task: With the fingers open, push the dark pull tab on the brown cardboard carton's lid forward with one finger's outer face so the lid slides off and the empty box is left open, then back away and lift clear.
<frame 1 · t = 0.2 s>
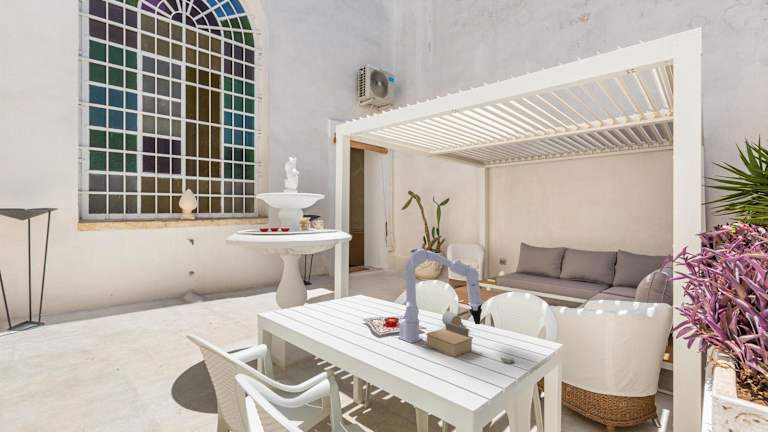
hand: (477, 321, 169), 10 cm above the table, tool pointing down, fingers open, 7 cm apart
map: (505, 355, 156), on the table
carton: (448, 348, 162), on the table
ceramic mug: (453, 326, 194), on the table
carton lid: (449, 332, 162), point 7 cm above the table, slide at 0.0 cm
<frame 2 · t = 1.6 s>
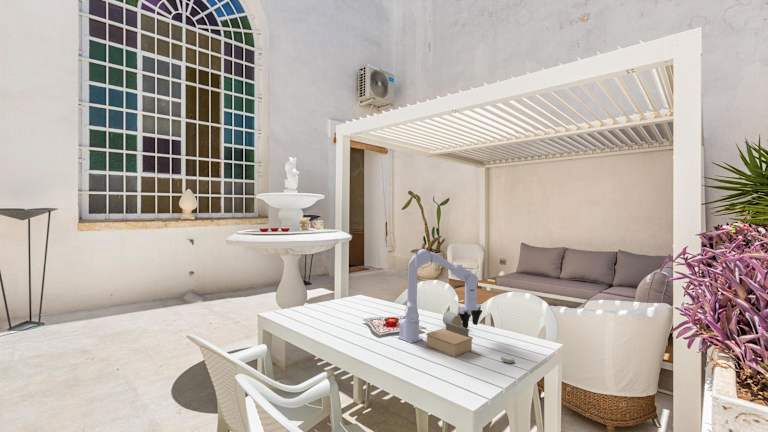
hand: (470, 326, 173), 7 cm above the table, tool pointing down, fingers open, 7 cm apart
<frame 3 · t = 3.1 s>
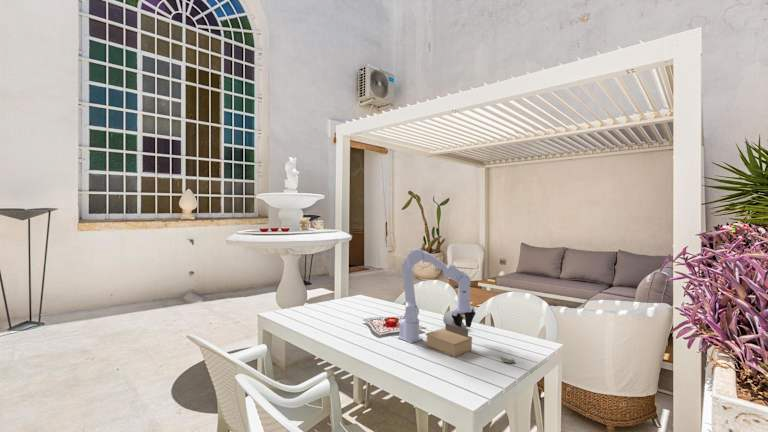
hand: (463, 328, 169), 7 cm above the table, tool pointing down, fingers open, 7 cm apart
carton lid: (448, 332, 162), point 7 cm above the table, slide at 0.3 cm, touching gripper
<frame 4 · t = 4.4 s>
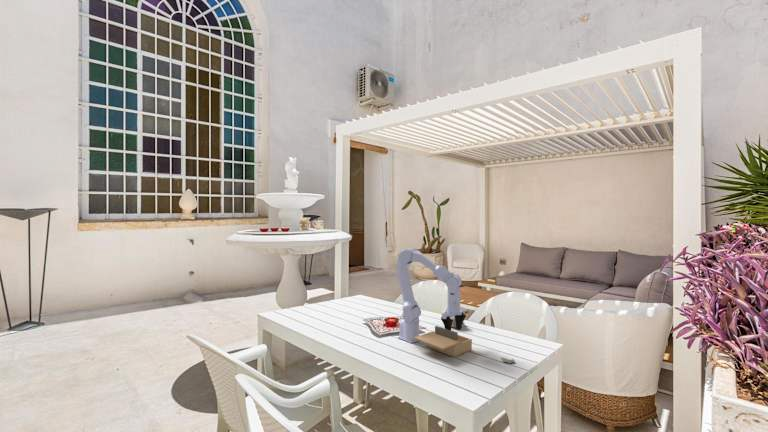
hand: (453, 331, 164), 7 cm above the table, tool pointing down, fingers open, 7 cm apart
carton lid: (437, 336, 157), point 7 cm above the table, slide at 7.8 cm, touching gripper
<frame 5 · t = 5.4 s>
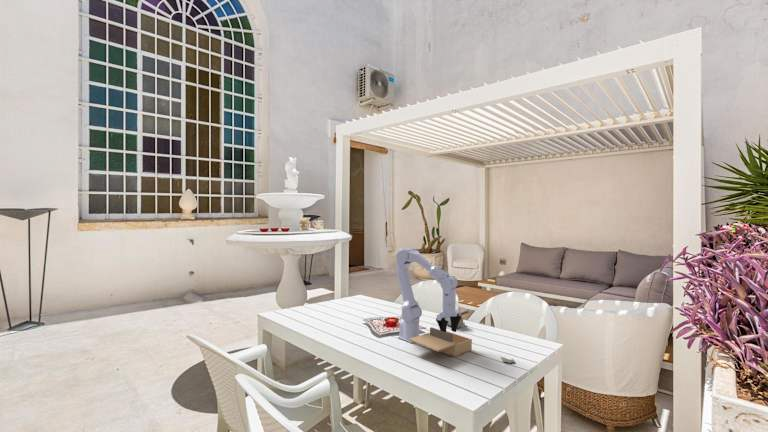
hand: (448, 333, 162), 7 cm above the table, tool pointing down, fingers open, 7 cm apart
carton lid: (432, 338, 155), point 7 cm above the table, slide at 11.3 cm, touching gripper
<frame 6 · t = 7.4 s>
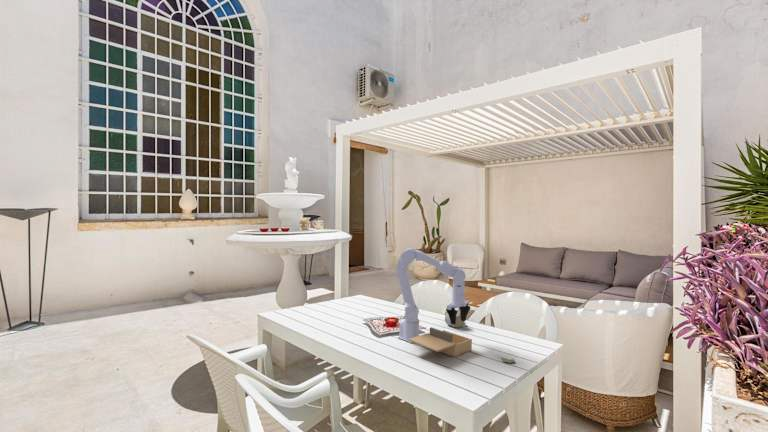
hand: (458, 322, 170), 9 cm above the table, tool pointing down, fingers open, 7 cm apart
carton lid: (432, 338, 155), point 7 cm above the table, slide at 11.4 cm
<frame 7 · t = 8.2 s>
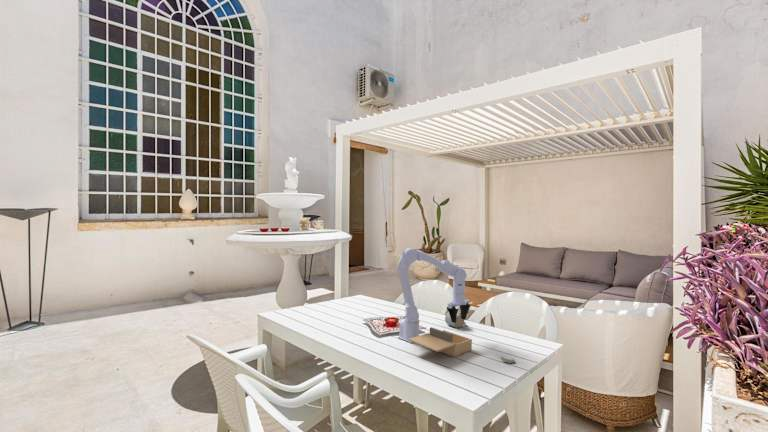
hand: (458, 320, 173), 9 cm above the table, tool pointing down, fingers open, 7 cm apart
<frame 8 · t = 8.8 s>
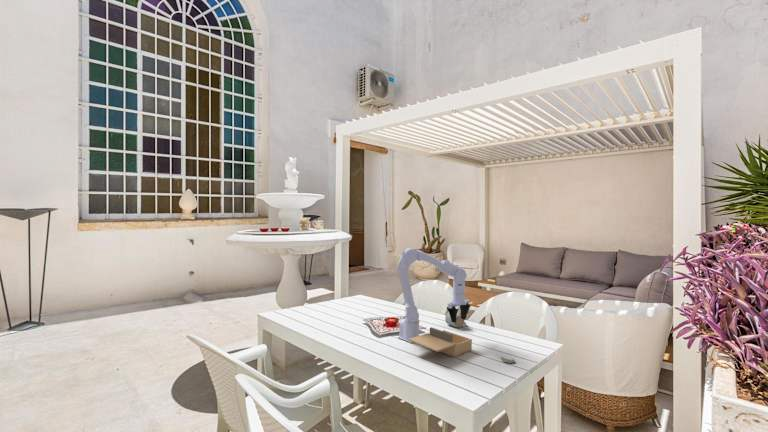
hand: (458, 320, 173), 9 cm above the table, tool pointing down, fingers open, 7 cm apart
at the end: carton lid slide at 11.4 cm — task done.
